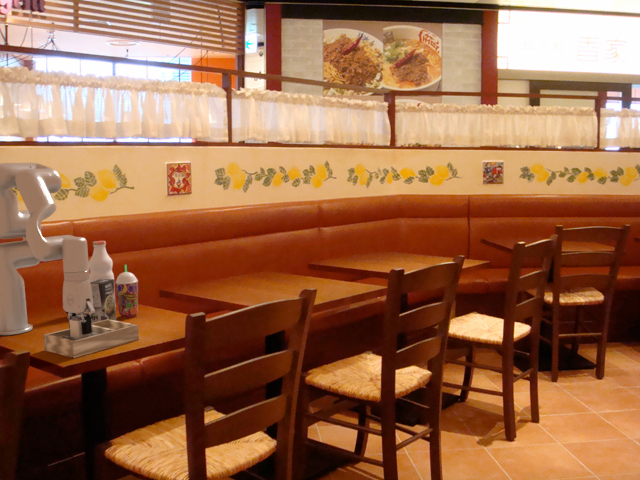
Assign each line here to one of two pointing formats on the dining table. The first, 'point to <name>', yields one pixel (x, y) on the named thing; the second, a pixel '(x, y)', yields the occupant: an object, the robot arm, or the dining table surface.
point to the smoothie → (127, 294)
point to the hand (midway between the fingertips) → (80, 331)
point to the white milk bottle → (100, 263)
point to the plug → (76, 327)
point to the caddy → (91, 338)
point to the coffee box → (103, 300)
